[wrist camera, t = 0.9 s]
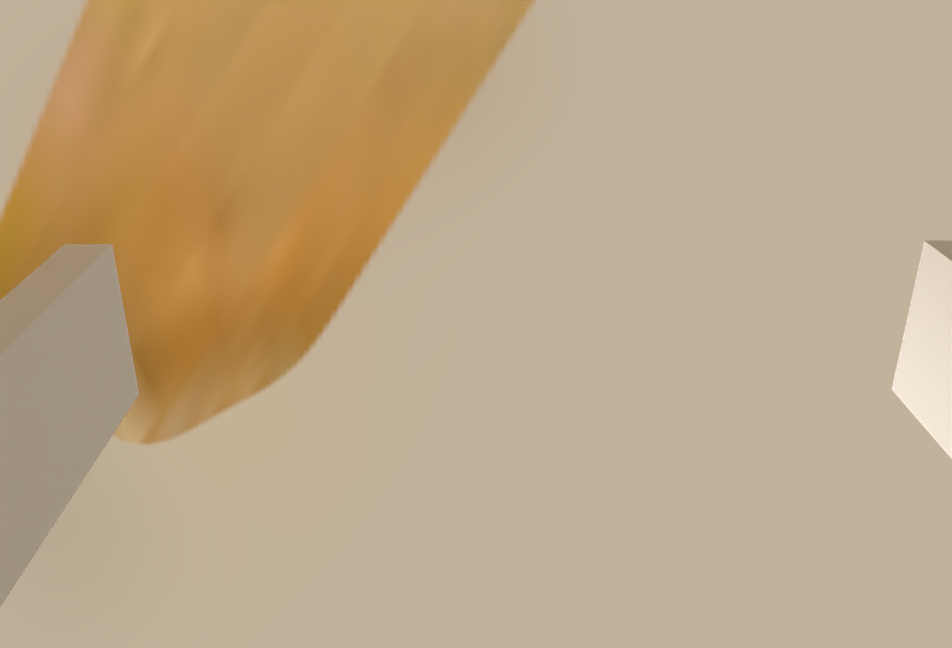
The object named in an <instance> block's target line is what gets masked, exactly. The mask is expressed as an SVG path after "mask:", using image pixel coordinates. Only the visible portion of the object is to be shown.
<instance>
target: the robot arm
mask: <svg viewBox="0 0 952 648" xmlns="http://www.w3.org/2000/svg"><path fill="white" fill-rule="evenodd" d="M892 390H893V392H894V393H895V394H896V395H897V396H898V397H899V398H900V399H901V401H902V402H903V403H904V404H905V405H906V406H907V408H908V409H909V410H910V411H911V412H912V413H913V415H914V416H915V417H916V418H917V419H918V420H919V422H920V423H921V424H922V425H923V426H924V427H925V428H926V430H927V431H928V432H929V433H930V434H931V435H932V437H933V438H934V439H935V440H936V441H937V442H938V443H939V445H940V446H941V447H942V448H943V449H944V450H945V452H946V453H947V454H948V455H949V456H950V457H951V459H952V241H924V245H923V249H922V254H921V259H920V263H919V268H918V273H917V277H916V282H915V286H914V290H913V295H912V299H911V304H910V309H909V313H908V318H907V323H906V327H905V332H904V336H903V340H902V345H901V349H900V354H899V359H898V363H897V368H896V372H895V377H894V382H893V386H892ZM138 395H139V391H138V385H137V380H136V374H135V369H134V363H133V358H132V352H131V346H130V341H129V335H128V330H127V324H126V319H125V313H124V308H123V302H122V296H121V291H120V285H119V280H118V274H117V269H116V263H115V258H114V252H113V246H112V244H89V245H63V246H62V247H61V248H60V249H59V250H58V251H56V252H55V253H54V254H53V255H52V256H51V257H50V258H48V259H47V260H46V261H45V262H44V263H43V264H41V265H40V266H39V267H38V268H37V269H36V270H35V271H33V272H32V273H31V274H30V275H29V276H28V277H27V278H25V279H24V280H23V281H22V282H21V283H20V284H19V285H17V286H16V287H15V288H14V289H13V290H12V291H11V292H9V293H8V294H7V295H6V296H5V297H4V298H3V299H1V300H0V606H1V605H2V603H3V602H4V600H5V599H6V597H7V595H8V594H9V593H10V591H11V589H12V588H13V586H14V585H15V583H16V582H17V580H18V579H19V577H20V576H21V574H22V573H23V571H24V570H25V568H26V567H27V565H28V563H29V562H30V560H31V559H32V557H33V556H34V554H35V553H36V551H37V550H38V548H39V547H40V545H41V544H42V542H43V541H44V539H45V537H46V536H47V534H48V532H49V531H50V529H51V528H52V527H53V525H54V524H55V522H56V521H57V519H58V518H59V516H60V514H61V513H62V511H63V510H64V508H65V507H66V505H67V504H68V502H69V501H70V499H71V498H72V496H73V495H74V493H75V491H76V490H77V488H78V487H79V485H80V484H81V482H82V481H83V479H84V478H85V476H86V475H87V473H88V472H89V470H90V469H91V467H92V465H93V464H94V462H95V461H96V459H97V458H98V456H99V454H100V453H101V452H102V450H103V449H104V447H105V446H106V444H107V442H108V441H109V439H110V438H111V436H112V435H113V433H114V432H115V430H116V429H117V427H118V426H119V424H120V423H121V421H122V419H123V418H124V416H125V415H126V413H127V412H128V410H129V409H130V407H131V406H132V404H133V403H134V401H135V400H136V398H137V396H138Z"/></svg>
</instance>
